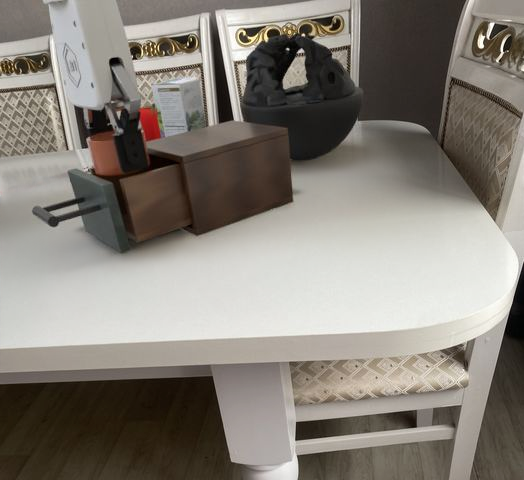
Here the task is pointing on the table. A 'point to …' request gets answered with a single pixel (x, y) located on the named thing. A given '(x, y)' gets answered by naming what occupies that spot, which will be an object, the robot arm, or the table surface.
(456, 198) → the table surface
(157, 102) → the syrup box
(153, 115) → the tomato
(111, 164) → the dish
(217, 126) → the cabinet
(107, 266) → the table surface
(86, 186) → the drawer
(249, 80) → the black sculpted bowl
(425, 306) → the table surface
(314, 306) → the table surface
